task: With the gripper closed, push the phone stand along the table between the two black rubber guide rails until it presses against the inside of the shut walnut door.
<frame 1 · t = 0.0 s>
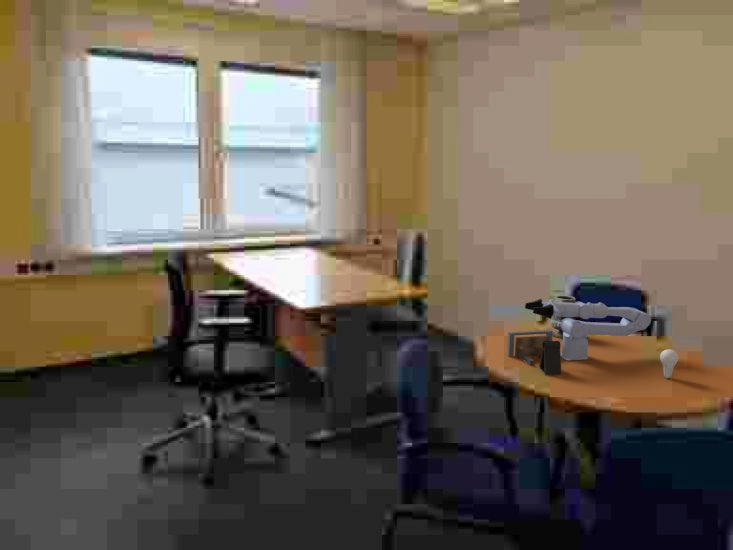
hand: (529, 308, 248), 22 cm above the table, tool horizontal, fingers open, 7 cm apart
door: (532, 346, 255), point 4 cm above the table, hinge at 0.0°
keeper: (537, 361, 251), on the table
lightbulb: (667, 378, 232), on the table
phone stand: (550, 371, 240), on the table
door frame: (529, 354, 259), on the table
apothecary jar: (563, 336, 285), on the table
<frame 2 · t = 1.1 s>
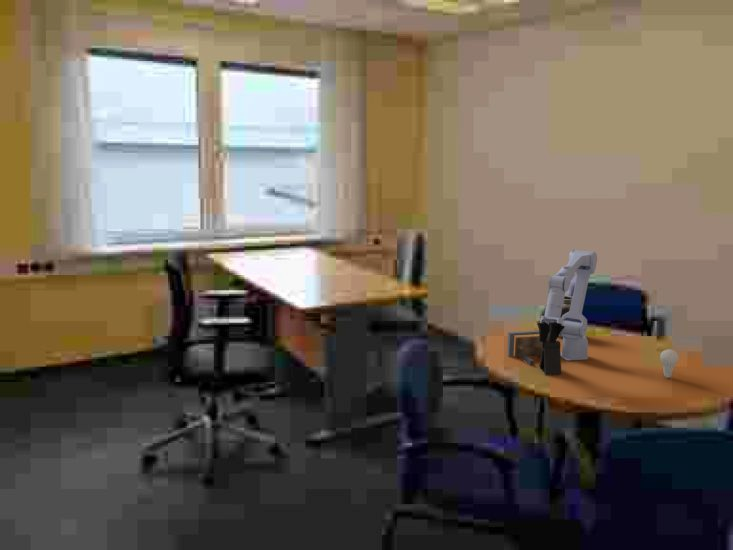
hand: (547, 342, 232), 13 cm above the table, tool tilted 20°, fingers open, 7 cm apart
phone stand: (550, 371, 240), on the table, touching gripper
everything else where it was.
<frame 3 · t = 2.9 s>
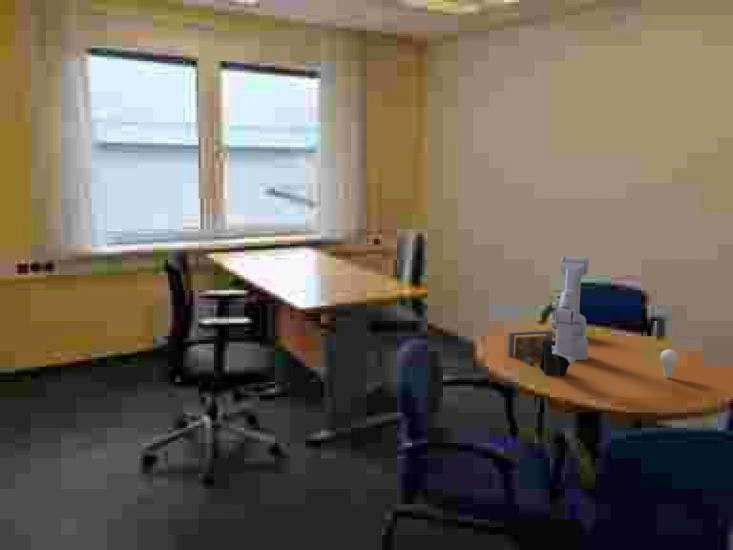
hand: (561, 375, 230), 2 cm above the table, tool pointing down, fingers closed
phone stand: (550, 371, 240), on the table
everything else where it was.
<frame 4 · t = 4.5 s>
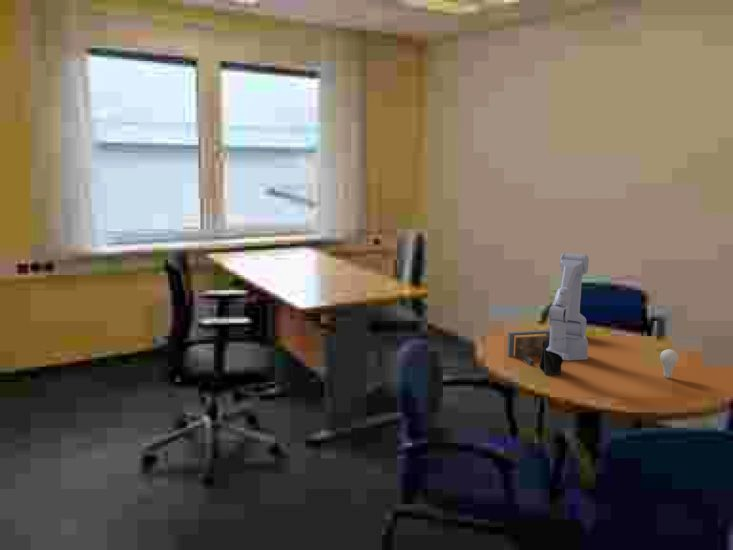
hand: (555, 371, 235), 1 cm above the table, tool pointing down, fingers closed, pressing on phone stand
phone stand: (550, 371, 240), on the table, touching gripper
everything else where it was.
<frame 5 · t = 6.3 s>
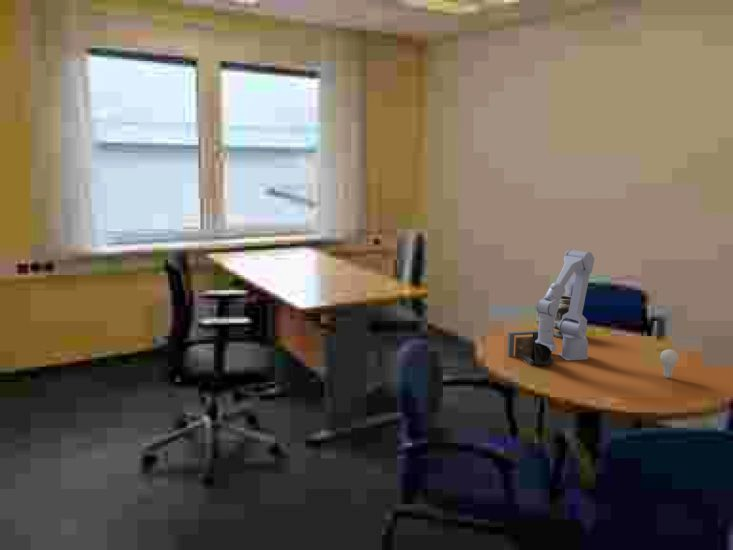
hand: (544, 363, 245), 1 cm above the table, tool pointing down, fingers closed, pressing on phone stand
phone stand: (540, 362, 248), on the table, touching gripper
everything else where it was.
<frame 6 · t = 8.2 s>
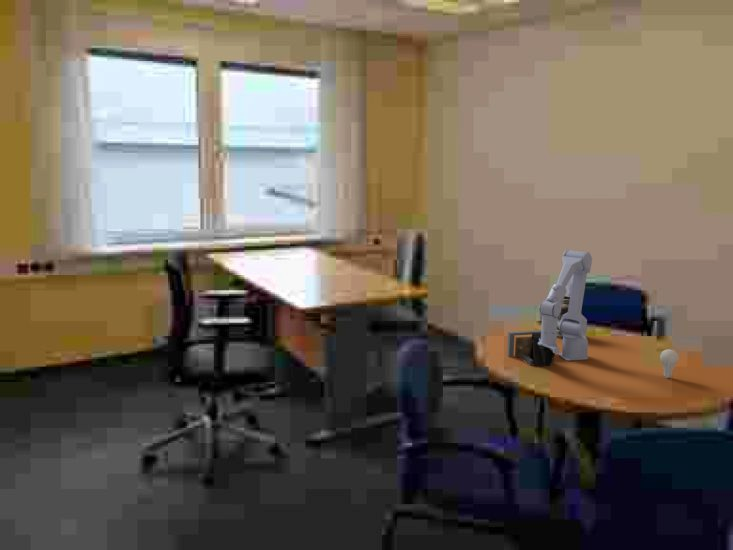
hand: (547, 365, 242), 1 cm above the table, tool pointing down, fingers closed
phone stand: (539, 362, 250), on the table
everything else where it was.
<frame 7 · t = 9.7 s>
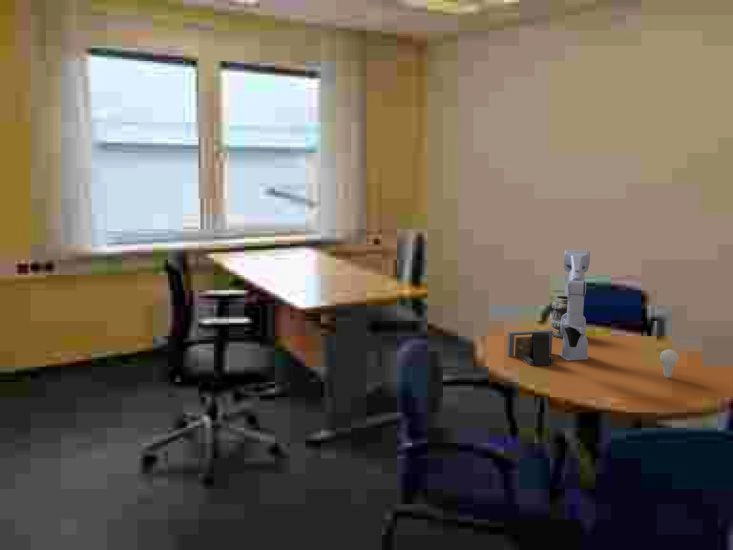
hand: (572, 346, 236), 10 cm above the table, tool pointing down, fingers closed
nothing on the table moved.
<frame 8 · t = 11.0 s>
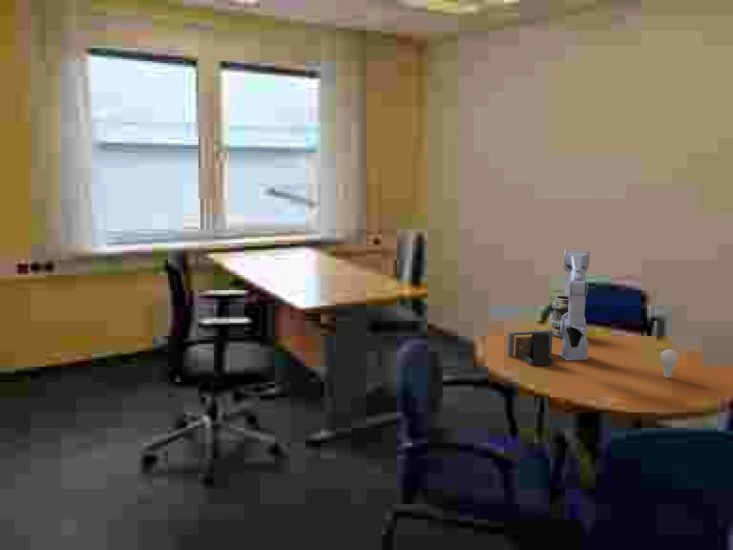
hand: (574, 346, 236), 10 cm above the table, tool pointing down, fingers closed
nothing on the table moved.
at the end: phone stand 1.3 cm from the target spot, on the table; phone stand tilted 0°; door at +0° (first picture: +0°) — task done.
